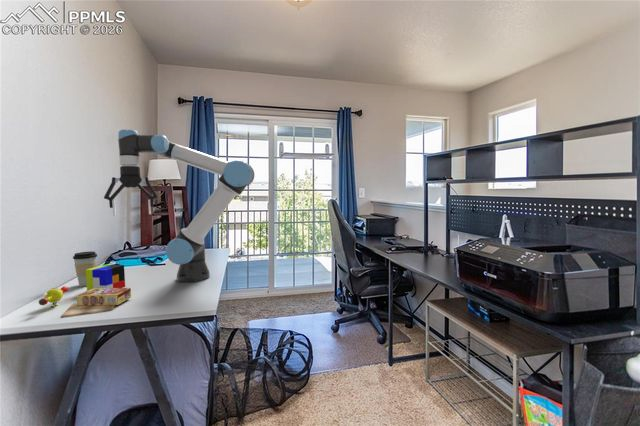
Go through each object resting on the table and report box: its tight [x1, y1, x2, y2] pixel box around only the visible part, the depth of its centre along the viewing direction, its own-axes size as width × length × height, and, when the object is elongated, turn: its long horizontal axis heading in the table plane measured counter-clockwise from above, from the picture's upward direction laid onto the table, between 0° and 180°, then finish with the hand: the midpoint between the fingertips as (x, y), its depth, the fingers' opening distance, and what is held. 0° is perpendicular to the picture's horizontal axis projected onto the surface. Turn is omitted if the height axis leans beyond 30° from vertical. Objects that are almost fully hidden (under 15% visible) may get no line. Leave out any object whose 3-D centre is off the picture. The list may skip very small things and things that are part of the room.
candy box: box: [76, 287, 132, 306], centre depth 125 cm, size 9×4×15 cm
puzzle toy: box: [86, 264, 126, 291], centre depth 144 cm, size 10×10×10 cm
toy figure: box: [38, 286, 69, 308], centre depth 122 cm, size 18×6×7 cm, turn 16°
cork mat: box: [61, 303, 116, 318], centre depth 120 cm, size 15×13×1 cm
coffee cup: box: [72, 250, 98, 287], centre depth 152 cm, size 9×9×15 cm
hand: (132, 214), depth 143 cm, fingers open, 13 cm apart
